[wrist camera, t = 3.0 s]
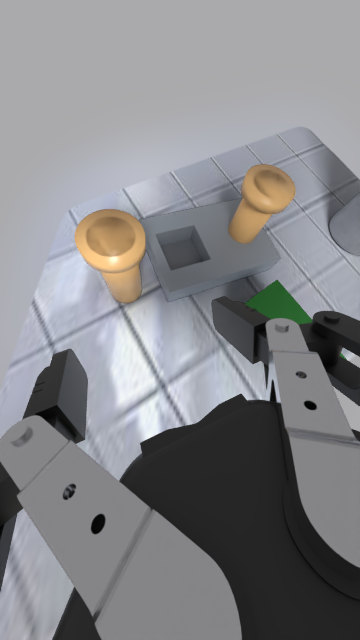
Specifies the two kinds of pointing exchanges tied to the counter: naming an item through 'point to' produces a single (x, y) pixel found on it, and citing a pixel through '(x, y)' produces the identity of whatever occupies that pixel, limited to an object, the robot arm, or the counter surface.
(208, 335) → the counter surface
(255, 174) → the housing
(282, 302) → the clamp
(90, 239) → the tan peg
